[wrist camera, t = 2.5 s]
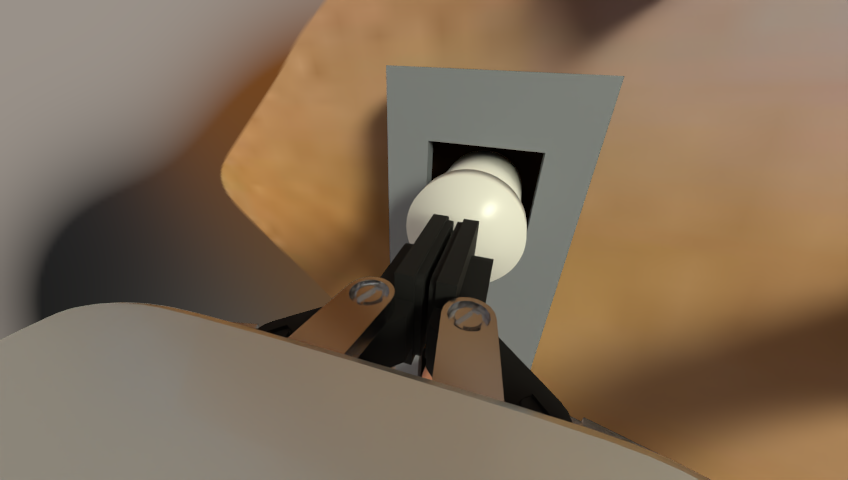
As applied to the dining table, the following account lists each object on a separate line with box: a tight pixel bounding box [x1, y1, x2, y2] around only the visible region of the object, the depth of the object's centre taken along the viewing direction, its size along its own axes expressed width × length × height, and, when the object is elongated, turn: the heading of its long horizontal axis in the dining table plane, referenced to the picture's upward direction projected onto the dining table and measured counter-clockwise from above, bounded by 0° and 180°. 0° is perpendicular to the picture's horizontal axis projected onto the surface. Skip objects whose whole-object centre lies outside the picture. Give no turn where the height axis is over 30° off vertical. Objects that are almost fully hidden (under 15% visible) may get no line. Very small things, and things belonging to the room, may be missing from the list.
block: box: [386, 65, 624, 377], centre depth 22 cm, size 10×26×6 cm, turn 177°
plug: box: [406, 150, 527, 282], centre depth 15 cm, size 5×5×6 cm
